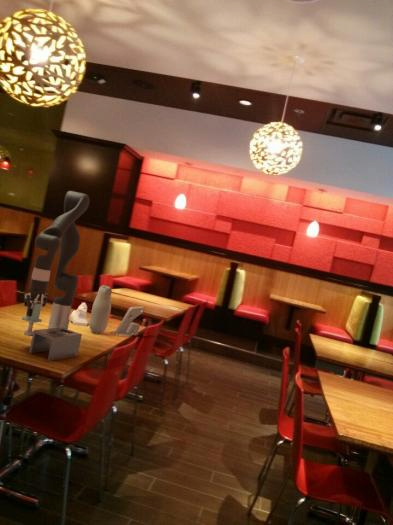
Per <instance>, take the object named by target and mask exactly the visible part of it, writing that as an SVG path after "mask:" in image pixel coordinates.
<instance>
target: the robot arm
mask: <svg viewBox="0 0 393 525" xmlns="http://www.w3.org/2000/svg"><path fill="white" fill-rule="evenodd" d="M89 205H90V196H89V195H88V194H86V193H83V192H77V191H74V190H69V191H67V192H66V193H65V196H64V202H63V214H61V215H59V216H57V217H56V218H55V219H54V220H53V222H52V223H51V224H50V225H49V227H47V228H45V229H44V230H43V231H41V232H40V233H38V235H37V236H36V237H35V241H34V244H35V247H36V248H37V249H39V250H43V251H47V253H46V254H38V255H37V256H36V258H35V262H34V267H33V270H32V274H31V278H30V279H31V280H30V283H29V288H30V291H29V292H28V293H24V294H23V306H24V307H26V308H28V309H26V313H27V316H29V317H31V316H32V311H33V309H32V308H33V306H34V304H36V303H39V304H42V306H41V309H42V308H43V307H45V306H46V305H47V303H48V300H49V298H50V293H46V291H47V290H48V288H49V282H50V278H51V269H52V264H53V261H54V259H55V257H56V255H57V253H59V254H58V261H57V267H56V271H55V276H54V282H53V286H54V288H55V289H56V290H59V291H62V292H65V294H63V295H61V296H55V297H54V298H53V302H52V307H51V312H50V317H49V321H48V325H47V329H50V328H60V327H62V328H65V329H68V330H69V325H70V315H71V310H72V306H73V301H74V299H75V295H76V291H77V287H78V282H79V278H78V276H77V275H75V274H72V273H68V272H66V269H67V266H68V264H69V262H70V261H71V260H72V259H73V258H74V257H75V256H76V254H77V253H78V252H79V248H80V242H81V235H80V232H79V230H78V228H77V226H76V223H75V222H76V221H77V220H78V218H80V217H81V216H82V215H83V214H84V213H85V212H86V211H87V209H88V208H89ZM58 250H59V252H58ZM31 303H32V304H31ZM63 333H64V334H68V333H65V332H63Z"/></svg>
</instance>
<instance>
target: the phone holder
mask: <svg viewBox="0 0 393 525" xmlns="http://www.w3.org/2000/svg"><path fill="white" fill-rule="evenodd" d="M144 311H145V308H144V306H141V305H140V306H130V307H129V308H128V309H127V311H126V313H125V315H124V316H123V318H122V320H121V322H120V324H119V325H118V327H116V330H114V331H113V330H112V331H111V332H112V333H111V334H113V333H115V334H114V335H116V334H118V335H117V336H119V335H122V336H121V337H123V336H128V337H132V336H131V335H134V336H138V335H139V331H140V326H141V325H140V324H139V323H137V322H133V321H134V320H135V319H136V318H137V317H139V316H140V315H142V314H144ZM132 333H133V334H132Z"/></svg>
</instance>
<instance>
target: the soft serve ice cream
mask: <svg viewBox="0 0 393 525" xmlns="http://www.w3.org/2000/svg"><path fill="white" fill-rule="evenodd" d="M69 319H70V320H71V322H72V324H73V325H76V326H84V327H88V326H87V325H89V323H90V319H89V318H88V306H87V303H86V302H81V304H80V305H78V308H77V309H76V310H75V309H74V310H73V311H72V312H71V313H70V315H69Z"/></svg>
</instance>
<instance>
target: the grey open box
mask: <svg viewBox="0 0 393 525" xmlns="http://www.w3.org/2000/svg"><path fill="white" fill-rule="evenodd" d="M32 331H33V336H31V337H32V338H31V341H30V346H29V350H28V353H29V354H34V353H40V352H47V351H48V352H49V353H48V357H47V361H49V362H50V361H54V360H61V359H65V358H71V357H75V356H78V355H79V351H80V350H79V349H80V344H81V340H82V337H83V336H82V335H83V334H82V333H79V332H77V331H74V330H71V329H69V328H68V329H65V328H62V327H60V328H50V329H48V328H43V329H42V328H41V329H40V328H39V329H33V330H32ZM63 332H65V333H67V334H64V333H63Z"/></svg>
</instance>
